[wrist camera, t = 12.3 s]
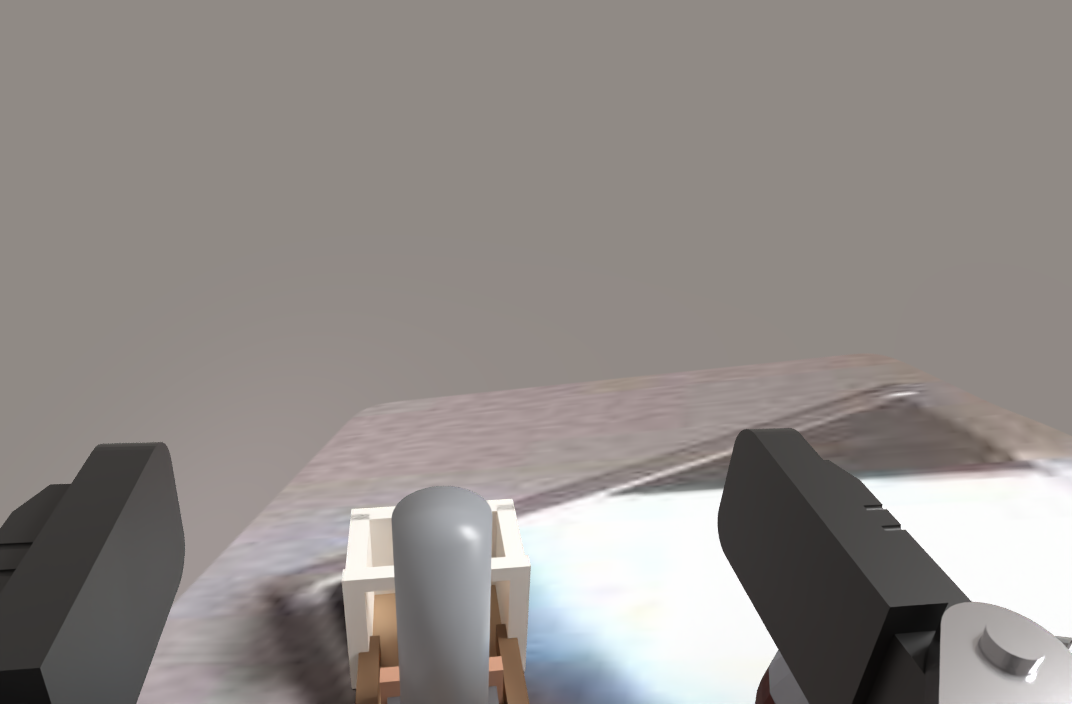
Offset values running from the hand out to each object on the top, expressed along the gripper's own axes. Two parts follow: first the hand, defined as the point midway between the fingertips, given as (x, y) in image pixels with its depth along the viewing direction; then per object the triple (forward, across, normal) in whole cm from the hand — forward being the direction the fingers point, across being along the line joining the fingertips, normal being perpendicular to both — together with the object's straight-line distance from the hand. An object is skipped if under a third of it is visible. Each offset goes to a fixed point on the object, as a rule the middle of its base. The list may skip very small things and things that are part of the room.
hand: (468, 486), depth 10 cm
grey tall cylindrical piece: (+13, -1, +25) cm, 28 cm away
